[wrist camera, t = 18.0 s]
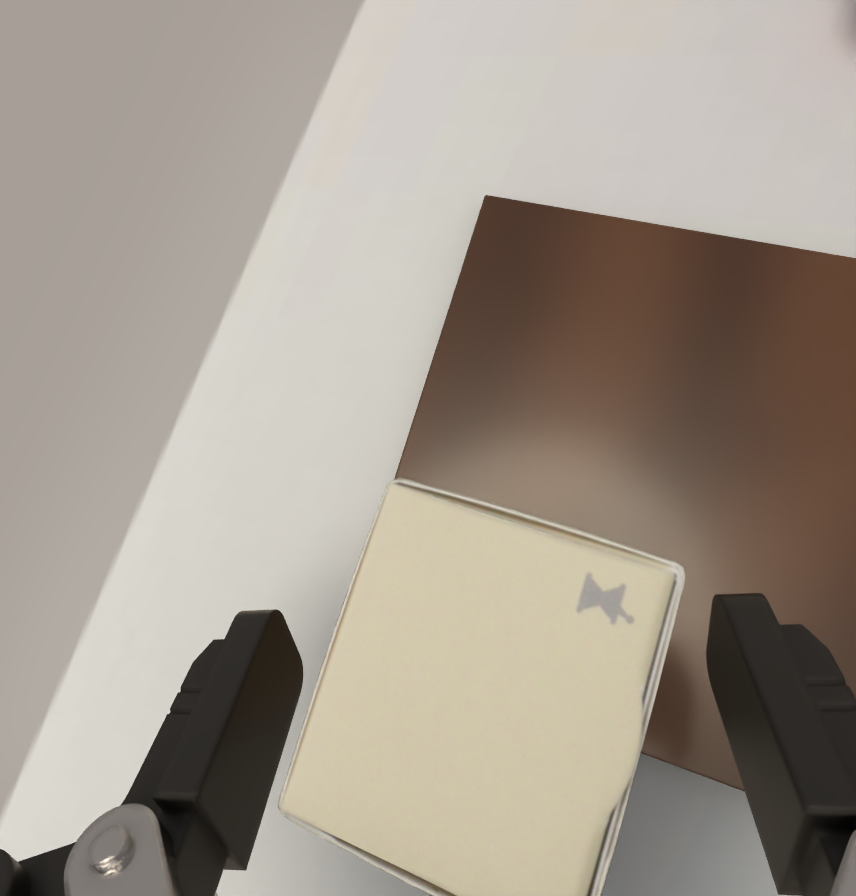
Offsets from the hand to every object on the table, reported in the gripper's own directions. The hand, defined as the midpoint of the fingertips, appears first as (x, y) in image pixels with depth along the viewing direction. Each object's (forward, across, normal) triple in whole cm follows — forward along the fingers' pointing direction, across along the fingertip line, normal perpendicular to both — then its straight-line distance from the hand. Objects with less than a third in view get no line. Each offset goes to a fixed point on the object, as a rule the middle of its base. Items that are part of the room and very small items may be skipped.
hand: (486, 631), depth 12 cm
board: (+8, -5, +3) cm, 10 cm away
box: (+5, 0, +6) cm, 8 cm away
